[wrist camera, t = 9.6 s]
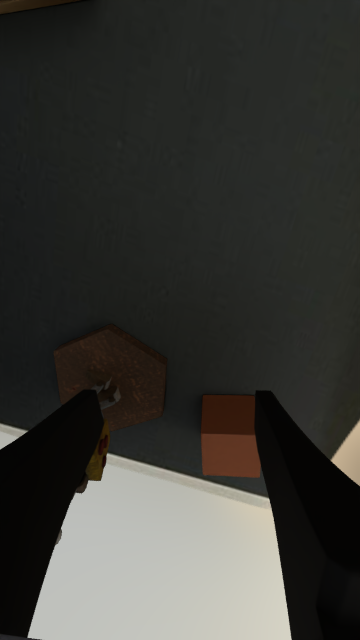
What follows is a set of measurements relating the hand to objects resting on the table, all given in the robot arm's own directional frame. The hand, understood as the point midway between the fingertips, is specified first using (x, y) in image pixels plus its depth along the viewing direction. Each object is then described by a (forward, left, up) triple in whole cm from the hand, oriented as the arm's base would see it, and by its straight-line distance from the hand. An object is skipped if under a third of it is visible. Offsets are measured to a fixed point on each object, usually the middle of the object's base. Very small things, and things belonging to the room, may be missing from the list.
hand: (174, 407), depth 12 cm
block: (+3, -9, -10) cm, 14 cm away
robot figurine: (-7, -5, -10) cm, 13 cm away
